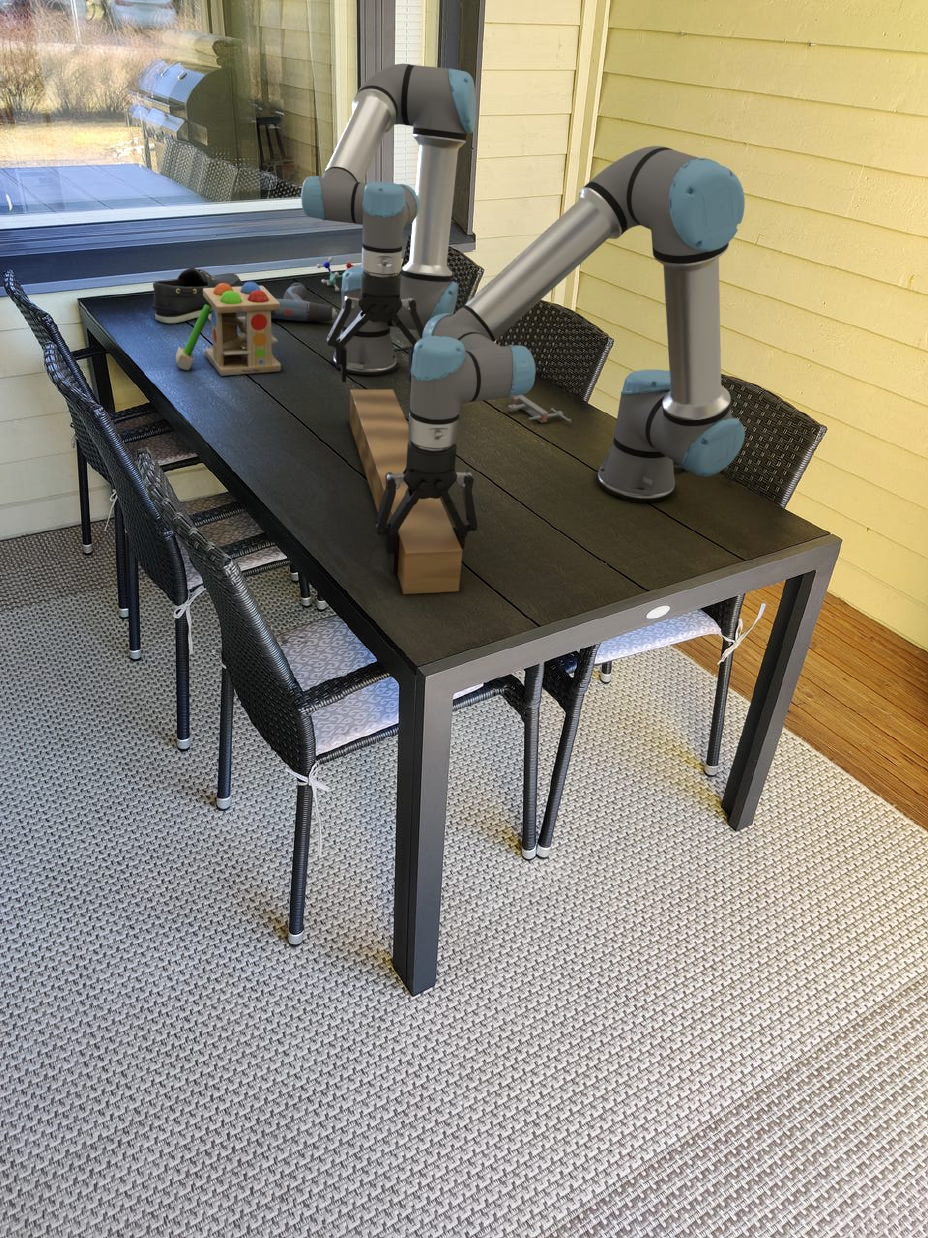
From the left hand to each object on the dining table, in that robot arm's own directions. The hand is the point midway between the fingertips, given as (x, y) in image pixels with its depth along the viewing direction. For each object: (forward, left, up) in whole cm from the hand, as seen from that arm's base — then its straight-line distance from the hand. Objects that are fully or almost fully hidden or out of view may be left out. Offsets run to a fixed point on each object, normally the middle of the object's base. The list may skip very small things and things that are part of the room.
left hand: (377, 380), depth 197 cm
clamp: (-37, +11, -12) cm, 41 cm away
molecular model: (-56, -89, -12) cm, 106 cm away
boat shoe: (-12, -90, -12) cm, 92 cm away
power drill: (-35, -74, -12) cm, 82 cm away
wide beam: (+13, +23, -12) cm, 29 cm away
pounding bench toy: (+5, -50, -12) cm, 52 cm away
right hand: (+26, +46, -12) cm, 54 cm away
